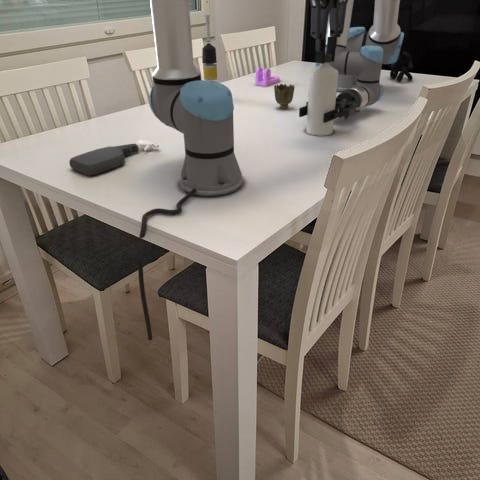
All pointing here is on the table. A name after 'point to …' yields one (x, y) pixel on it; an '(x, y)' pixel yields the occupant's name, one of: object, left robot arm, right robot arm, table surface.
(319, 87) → the bottle
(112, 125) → the table surface
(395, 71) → the squiggle
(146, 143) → the spray bottle
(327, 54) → the cap
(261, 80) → the bracket
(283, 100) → the cup
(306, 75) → the table surface
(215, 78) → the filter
